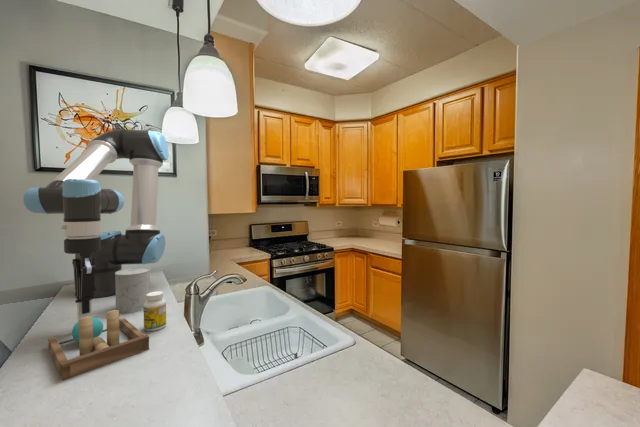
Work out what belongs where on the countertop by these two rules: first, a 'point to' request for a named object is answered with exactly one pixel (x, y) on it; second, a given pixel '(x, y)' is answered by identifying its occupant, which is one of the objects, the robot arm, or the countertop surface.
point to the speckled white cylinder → (131, 289)
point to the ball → (96, 329)
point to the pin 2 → (112, 327)
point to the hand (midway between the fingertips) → (84, 323)
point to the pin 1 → (85, 335)
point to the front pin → (99, 343)
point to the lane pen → (99, 352)
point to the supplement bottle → (154, 311)
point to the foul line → (73, 339)
